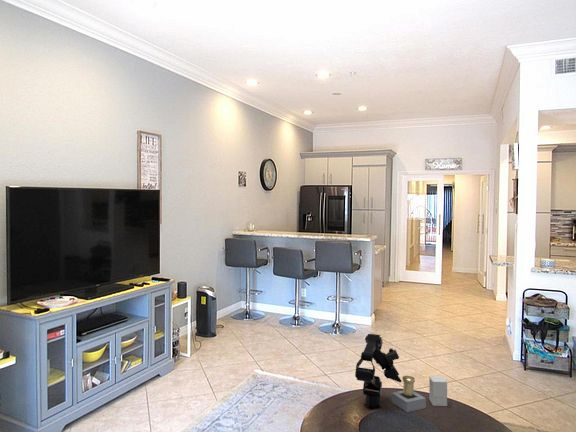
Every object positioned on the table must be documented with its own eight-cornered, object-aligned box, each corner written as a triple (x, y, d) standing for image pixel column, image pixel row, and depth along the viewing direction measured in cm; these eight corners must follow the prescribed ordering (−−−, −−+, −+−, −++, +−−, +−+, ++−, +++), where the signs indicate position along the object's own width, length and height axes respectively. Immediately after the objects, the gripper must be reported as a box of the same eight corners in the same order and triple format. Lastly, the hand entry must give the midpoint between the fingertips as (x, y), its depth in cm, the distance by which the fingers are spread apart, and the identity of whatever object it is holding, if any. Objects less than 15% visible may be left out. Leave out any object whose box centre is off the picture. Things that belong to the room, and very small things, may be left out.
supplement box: (443, 400, 216) (443, 376, 216) (447, 406, 208) (447, 382, 208) (429, 399, 216) (429, 375, 217) (432, 405, 209) (432, 381, 209)
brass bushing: (407, 406, 206) (407, 380, 206) (399, 401, 211) (400, 376, 211) (416, 404, 208) (417, 379, 208) (409, 399, 214) (409, 375, 214)
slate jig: (406, 412, 202) (406, 402, 202) (391, 402, 213) (391, 392, 213) (425, 408, 207) (425, 398, 207) (409, 398, 218) (409, 389, 218)
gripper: (391, 351, 202) (414, 374, 200) (387, 340, 220) (408, 361, 219) (375, 366, 203) (397, 389, 201) (372, 353, 221) (393, 375, 220)
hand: (399, 378), depth 210 cm, fingers open, 9 cm apart
